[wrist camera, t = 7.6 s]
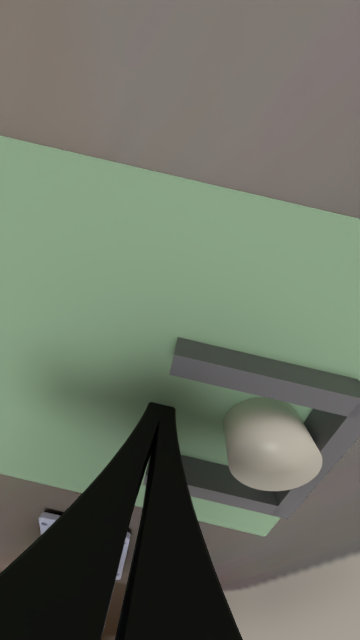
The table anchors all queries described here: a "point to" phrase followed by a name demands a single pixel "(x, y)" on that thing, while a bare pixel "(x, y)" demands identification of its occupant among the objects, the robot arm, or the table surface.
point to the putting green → (152, 308)
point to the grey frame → (280, 384)
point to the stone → (269, 445)
